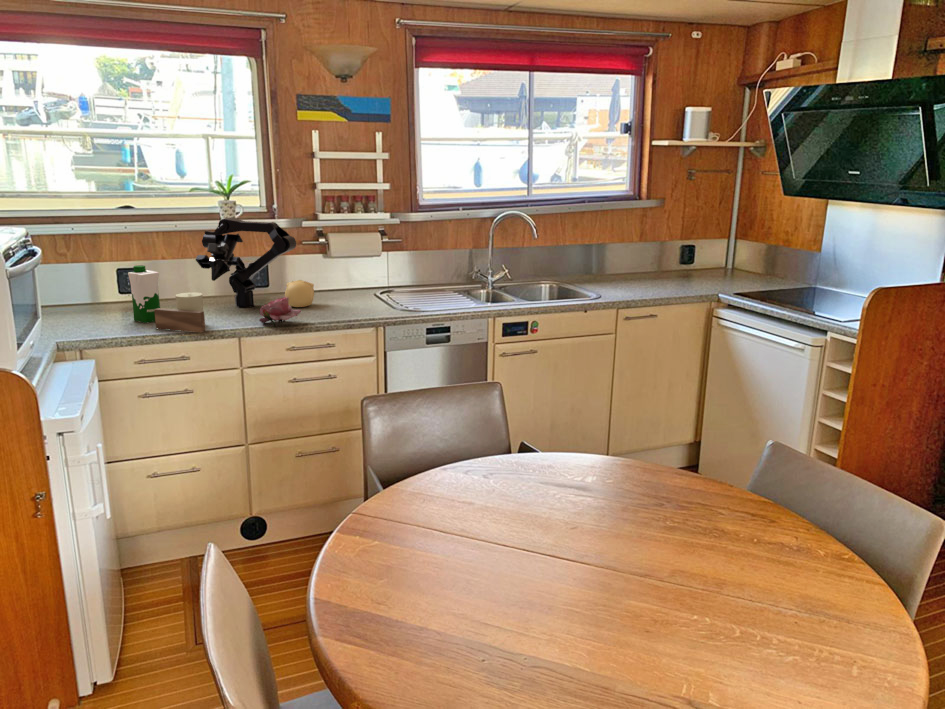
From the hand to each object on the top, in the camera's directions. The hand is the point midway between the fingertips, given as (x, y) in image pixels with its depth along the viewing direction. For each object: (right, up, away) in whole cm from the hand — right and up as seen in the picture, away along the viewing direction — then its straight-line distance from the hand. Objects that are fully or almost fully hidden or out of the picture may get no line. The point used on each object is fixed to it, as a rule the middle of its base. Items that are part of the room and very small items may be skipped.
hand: (212, 280), depth 297 cm
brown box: (-2, -20, -27) cm, 33 cm away
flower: (+30, -18, -16) cm, 38 cm away
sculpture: (+30, -9, +16) cm, 35 cm away
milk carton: (-20, -16, -13) cm, 29 cm away
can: (-1, -19, -20) cm, 28 cm away
